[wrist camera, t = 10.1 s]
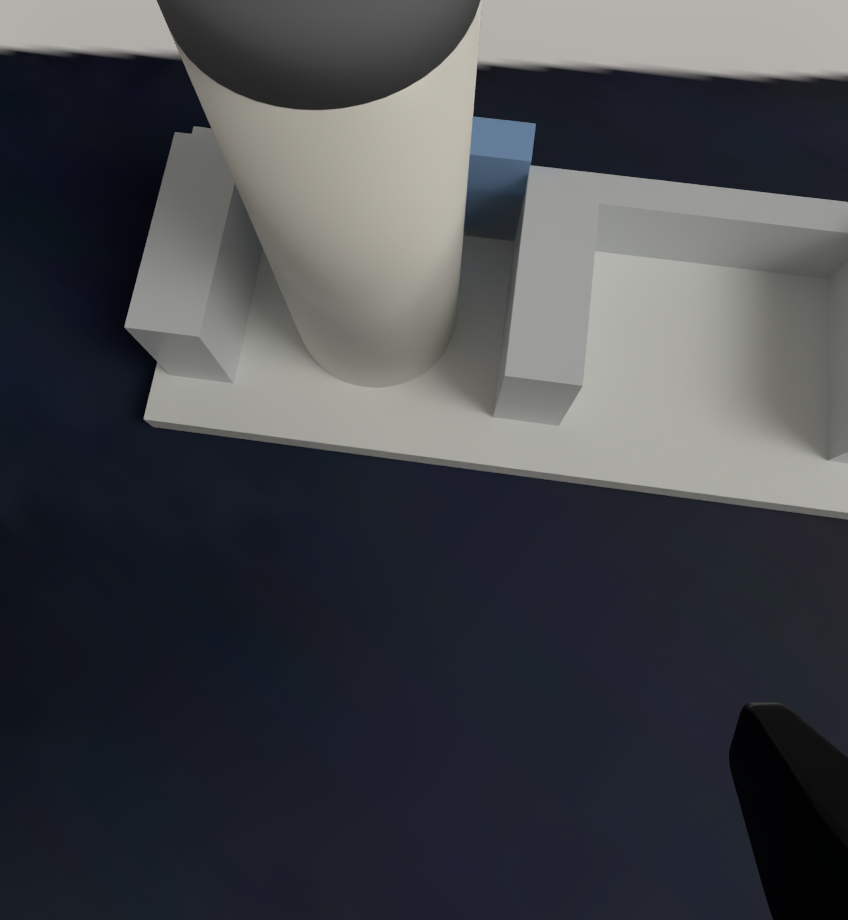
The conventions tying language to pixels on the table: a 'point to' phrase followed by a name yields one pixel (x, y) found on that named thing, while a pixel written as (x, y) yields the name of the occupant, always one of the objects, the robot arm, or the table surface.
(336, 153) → the white capped cylinder
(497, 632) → the table surface
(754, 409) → the white slotted stand
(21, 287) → the table surface
